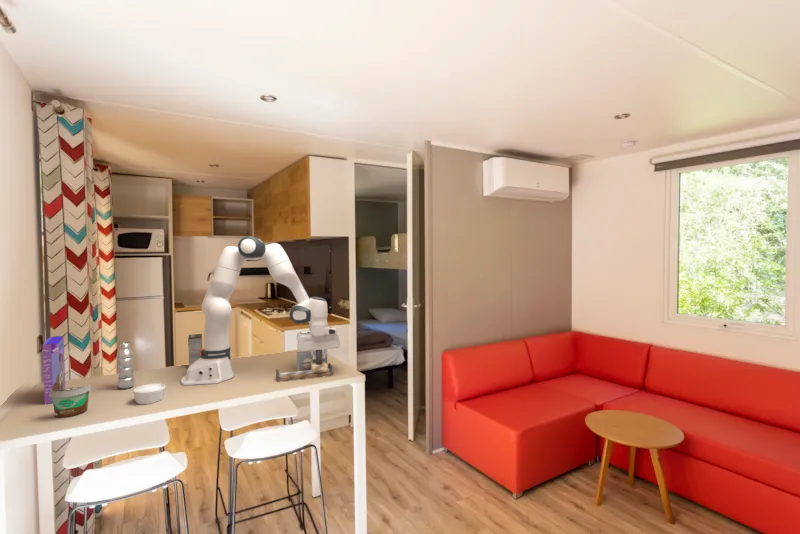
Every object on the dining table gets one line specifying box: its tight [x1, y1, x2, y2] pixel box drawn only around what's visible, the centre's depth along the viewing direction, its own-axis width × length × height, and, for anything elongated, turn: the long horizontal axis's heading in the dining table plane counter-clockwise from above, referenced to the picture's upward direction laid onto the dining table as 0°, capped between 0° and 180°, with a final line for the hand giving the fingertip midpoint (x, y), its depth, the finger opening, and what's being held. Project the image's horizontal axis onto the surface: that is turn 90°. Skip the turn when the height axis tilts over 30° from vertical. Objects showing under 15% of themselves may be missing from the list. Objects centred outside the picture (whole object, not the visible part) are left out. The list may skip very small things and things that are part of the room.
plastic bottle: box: [116, 341, 136, 389], centre depth 180 cm, size 6×7×20 cm
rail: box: [275, 363, 334, 383], centre depth 196 cm, size 26×7×4 cm, turn 111°
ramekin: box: [132, 383, 166, 405], centre depth 165 cm, size 11×11×5 cm
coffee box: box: [187, 333, 203, 367], centre depth 214 cm, size 9×6×16 cm
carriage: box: [311, 350, 328, 373], centre depth 198 cm, size 7×6×11 cm
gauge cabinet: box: [296, 349, 328, 371], centre depth 206 cm, size 14×9×9 cm, turn 111°
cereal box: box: [42, 335, 66, 405], centre depth 169 cm, size 17×5×24 cm, turn 34°
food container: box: [49, 383, 92, 419], centre depth 150 cm, size 12×6×10 cm, turn 126°
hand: (318, 358), depth 198 cm, fingers closed on carriage, 3 cm apart
